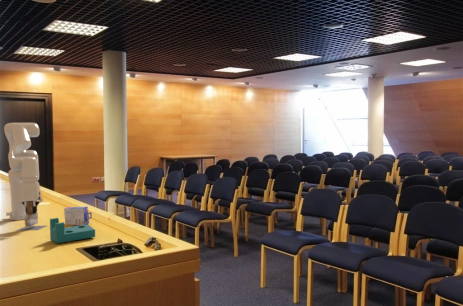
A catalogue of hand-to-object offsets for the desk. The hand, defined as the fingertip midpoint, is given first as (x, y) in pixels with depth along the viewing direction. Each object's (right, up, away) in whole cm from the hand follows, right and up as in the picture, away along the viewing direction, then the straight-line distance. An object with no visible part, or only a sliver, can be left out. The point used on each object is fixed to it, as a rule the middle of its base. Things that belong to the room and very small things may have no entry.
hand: (31, 213), depth 237 cm
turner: (0, -6, 0) cm, 6 cm away
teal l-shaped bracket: (+33, -9, -28) cm, 44 cm away
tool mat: (0, -9, 0) cm, 9 cm away
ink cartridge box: (+15, -3, +10) cm, 19 cm away
